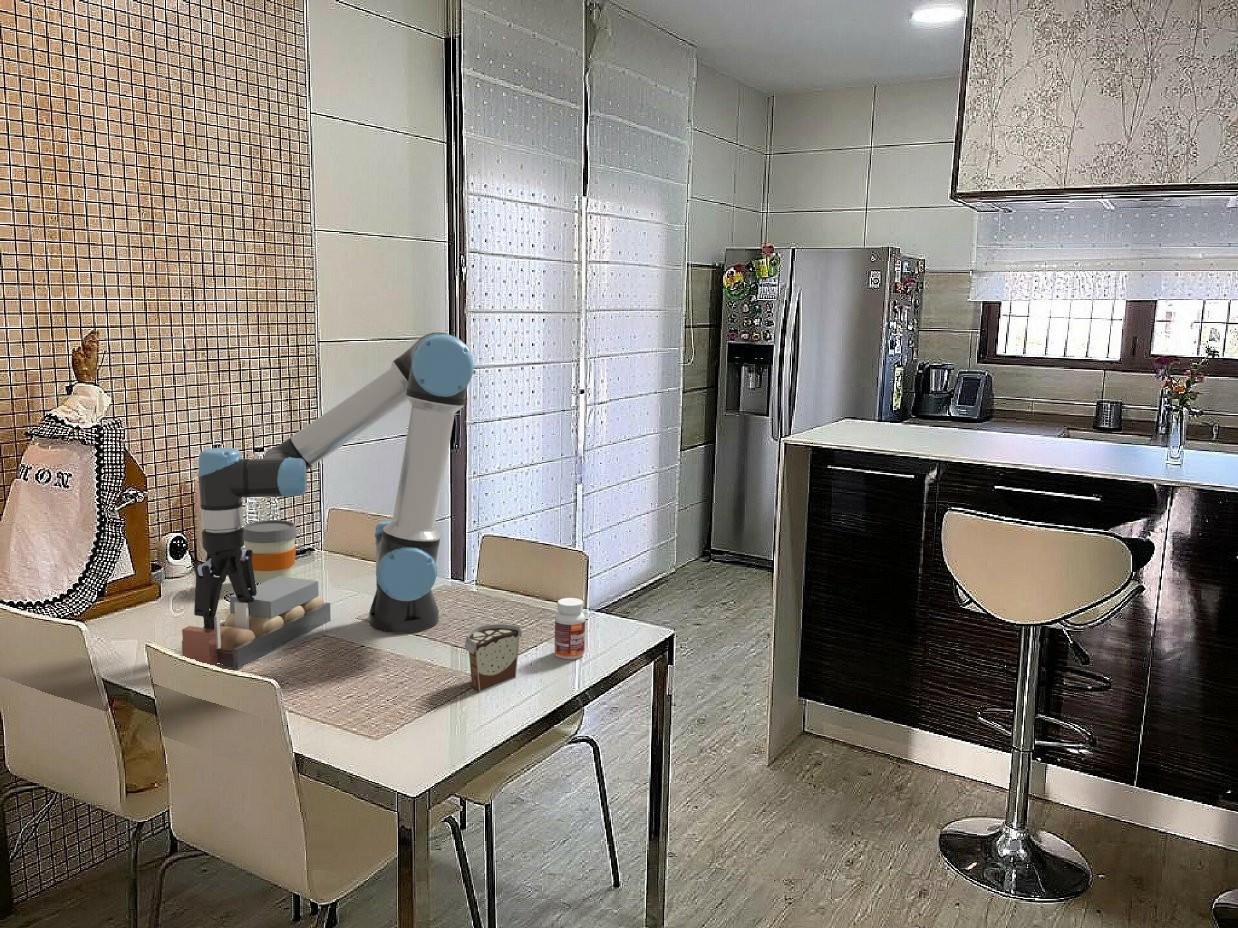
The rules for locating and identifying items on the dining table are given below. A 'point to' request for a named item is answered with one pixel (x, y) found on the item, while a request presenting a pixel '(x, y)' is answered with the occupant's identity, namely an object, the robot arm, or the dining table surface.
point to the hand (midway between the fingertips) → (228, 640)
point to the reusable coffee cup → (271, 548)
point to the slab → (279, 596)
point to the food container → (493, 655)
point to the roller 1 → (234, 637)
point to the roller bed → (204, 648)
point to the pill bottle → (570, 629)
